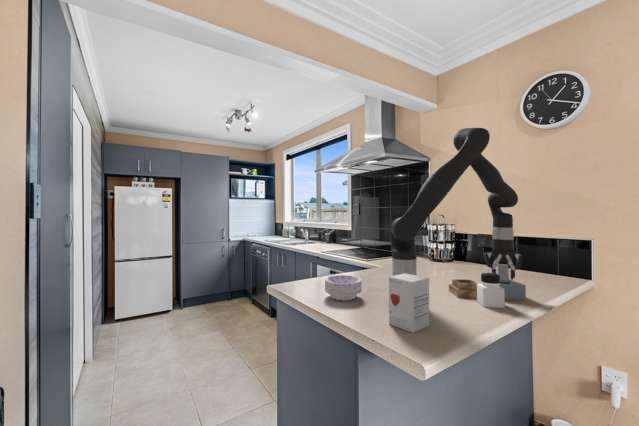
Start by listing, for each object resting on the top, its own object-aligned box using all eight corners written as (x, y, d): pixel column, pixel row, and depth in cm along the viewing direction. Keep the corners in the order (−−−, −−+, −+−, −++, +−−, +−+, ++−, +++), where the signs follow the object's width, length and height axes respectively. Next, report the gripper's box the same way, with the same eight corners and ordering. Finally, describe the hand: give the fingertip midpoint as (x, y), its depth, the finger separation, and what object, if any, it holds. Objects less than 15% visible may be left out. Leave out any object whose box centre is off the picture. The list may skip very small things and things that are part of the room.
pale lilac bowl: (338, 305, 105) (338, 284, 105) (318, 296, 118) (318, 277, 118) (369, 299, 113) (369, 280, 113) (347, 290, 126) (347, 273, 126)
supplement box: (387, 324, 87) (387, 276, 87) (405, 317, 93) (404, 272, 93) (413, 333, 80) (412, 281, 80) (430, 326, 85) (429, 277, 86)
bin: (496, 299, 112) (496, 284, 112) (483, 291, 123) (483, 278, 123) (525, 300, 111) (525, 285, 111) (510, 292, 122) (509, 278, 122)
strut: (511, 295, 114) (510, 265, 114) (497, 294, 116) (496, 265, 116) (509, 292, 118) (508, 264, 118) (495, 291, 120) (495, 263, 120)
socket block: (457, 297, 115) (457, 284, 115) (448, 290, 125) (448, 278, 125) (482, 297, 114) (482, 284, 114) (472, 291, 124) (472, 279, 124)
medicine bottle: (505, 308, 101) (504, 275, 101) (483, 307, 103) (483, 274, 103) (496, 302, 108) (496, 271, 108) (476, 301, 110) (476, 271, 110)
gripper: (483, 238, 117) (484, 278, 117) (525, 239, 111) (526, 282, 110) (482, 237, 124) (482, 275, 123) (521, 238, 117) (522, 278, 117)
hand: (503, 278), depth 117 cm, fingers open, 5 cm apart
